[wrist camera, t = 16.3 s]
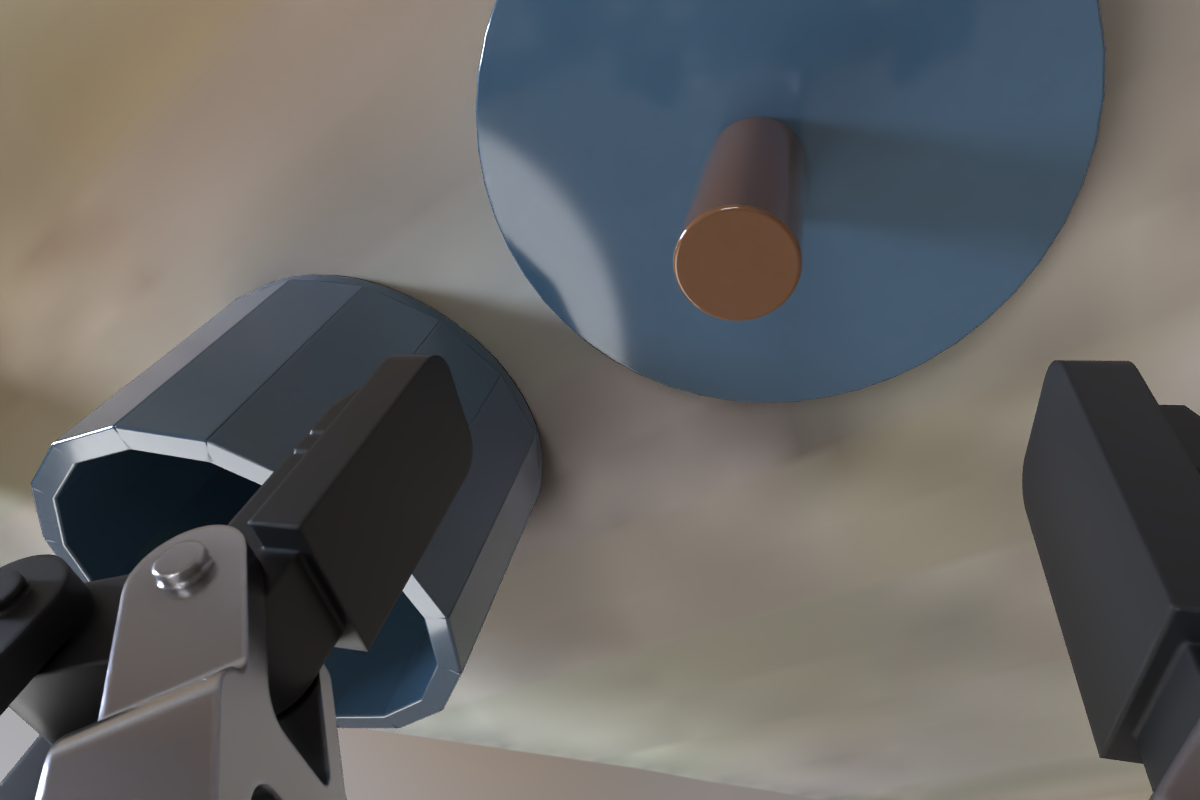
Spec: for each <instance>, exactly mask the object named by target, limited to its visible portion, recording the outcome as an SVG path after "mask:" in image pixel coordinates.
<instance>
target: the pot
mask: <svg viewBox="0 0 1200 800" xmlns="http://www.w3.org/2000/svg"><path fill="white" fill-rule="evenodd" d="M391 355H439V356H441V357H442V358H443V359H444V360H445V361H446V362H447V364H448V366H449V369H450V371H451V374H452V378H453V381H454V384H455V387H456V390H457V393H458V396H459V399H460V402H461V405H462V408H463V411H464V414H465V417H466V420H467V423H468V426H469V429H470V433H471V436H472V442H473V456H472V463H471V467H470V470H469V473H468V475H467V477H466V479H465V481H464V482H463V484H462V486H461V488H460V490H459V491H458V493H457V495H456V497H455V498H454V500H453V502H452V504H451V506H450V507H449V509H448V511H447V513H446V514H445V516H444V518H443V520H442V522H441V523H440V525H439V527H438V529H437V530H436V532H435V534H434V536H433V538H432V539H431V541H430V543H429V545H428V546H427V548H426V550H425V552H424V554H423V555H422V557H421V559H420V561H419V562H418V564H417V566H416V568H415V570H414V571H413V573H412V575H411V577H410V578H409V580H408V582H407V584H406V586H405V587H404V589H403V591H402V593H401V594H400V596H399V598H398V600H397V602H396V603H395V605H394V607H393V609H392V610H391V612H390V614H389V616H388V618H387V619H386V621H385V623H384V625H383V626H382V628H381V630H380V632H379V634H378V635H377V637H376V639H375V641H374V642H373V644H372V646H371V648H370V650H369V651H368V652H366V651H358V650H351V649H344V648H337V647H334V648H333V650H332V651H331V653H330V655H329V656H328V658H327V660H326V661H325V663H324V664H325V666H326V668H327V669H328V671H329V673H330V677H331V682H332V690H333V698H334V706H335V714H336V722H337V728H340V727H341V728H402V727H404V726H406V725H409V724H411V723H414V722H416V721H418V720H421V719H423V718H426V717H428V716H430V715H433V714H435V713H438V712H440V711H441V710H443V709H444V707H445V705H446V703H447V702H448V700H449V698H450V696H451V694H452V692H453V690H454V688H455V686H456V684H457V682H458V680H459V678H460V676H461V674H462V672H463V670H464V668H465V665H466V663H467V661H468V658H469V656H470V654H471V651H472V649H473V647H474V644H475V642H476V640H477V637H478V635H479V633H480V630H481V628H482V626H483V623H484V621H485V619H486V616H487V614H488V612H489V609H490V607H491V605H492V602H493V600H494V598H495V595H496V593H497V591H498V588H499V586H500V584H501V581H502V579H503V577H504V574H505V572H506V570H507V567H508V565H509V563H510V560H511V558H512V556H513V554H514V551H515V549H516V547H517V544H518V542H519V540H520V537H521V535H522V533H523V530H524V528H525V526H526V523H527V521H528V519H529V516H530V514H531V512H532V509H533V507H534V505H535V502H536V500H537V498H538V495H539V493H540V489H541V487H540V484H541V478H542V472H543V465H542V449H541V444H540V438H539V434H538V431H537V428H536V425H535V422H534V419H533V416H532V414H531V412H530V410H529V408H528V406H527V404H526V402H525V400H524V398H523V396H522V394H521V393H520V391H519V390H518V388H517V387H516V385H515V384H514V382H513V381H512V379H511V377H510V376H509V375H508V374H507V373H506V371H505V370H504V369H503V368H502V367H501V365H500V364H499V363H498V362H497V360H496V359H495V358H494V357H493V356H492V355H491V354H490V353H489V352H488V351H487V350H486V349H485V348H484V347H483V346H482V345H481V344H480V343H479V342H478V341H477V340H476V339H474V338H473V337H472V336H471V335H469V334H468V333H467V332H466V331H464V330H463V329H462V328H461V327H459V326H458V325H457V324H456V323H454V322H453V321H451V320H450V319H448V318H447V317H445V316H444V315H442V314H441V313H439V312H438V311H436V310H435V309H433V308H431V307H429V306H427V305H425V304H423V303H422V302H420V301H418V300H416V299H414V298H412V297H410V296H408V295H405V294H403V293H400V292H398V291H395V290H393V289H390V288H388V287H385V286H382V285H379V284H375V283H372V282H368V281H365V280H361V279H356V278H350V277H344V276H337V275H315V274H312V275H303V276H293V277H288V278H284V279H281V280H277V281H273V282H270V283H268V284H266V285H264V286H262V287H260V288H258V289H256V290H254V291H253V292H251V293H250V294H248V295H245V296H242V297H240V298H237V299H236V300H235V301H233V302H232V303H231V304H229V305H228V306H227V307H226V308H224V309H223V310H222V311H221V312H219V313H218V314H217V315H215V316H214V317H213V318H212V319H210V320H209V321H208V322H207V323H205V324H204V325H203V326H201V327H200V328H199V329H198V330H196V331H195V332H194V333H192V334H191V335H190V336H189V337H187V338H186V339H185V340H184V341H182V342H181V343H180V344H178V345H177V346H176V347H175V348H173V349H172V350H171V351H169V352H168V353H167V354H166V355H164V356H163V357H162V358H161V359H159V360H158V361H157V362H155V363H154V364H153V365H152V366H150V367H149V368H148V369H147V370H145V371H144V372H143V373H141V374H140V375H139V376H138V377H136V378H135V379H134V380H132V381H131V382H130V383H129V384H127V385H126V386H125V387H124V388H122V389H121V390H120V391H118V392H117V393H116V394H115V395H113V396H112V397H111V398H110V399H108V400H107V401H106V402H104V403H103V404H102V405H101V406H99V407H98V408H97V409H95V410H94V411H93V412H92V413H90V414H89V415H88V416H87V417H85V418H84V419H83V420H81V421H80V422H79V423H78V424H76V425H75V426H74V427H72V428H71V429H70V430H69V431H67V432H66V433H65V434H64V435H62V436H61V437H60V438H58V439H57V440H56V441H55V442H53V443H52V445H51V447H50V449H49V451H48V453H47V454H46V456H45V458H44V460H43V462H42V464H41V465H40V467H39V469H38V471H37V473H36V475H35V477H34V478H33V480H32V482H31V490H32V494H33V498H34V502H35V506H36V510H37V514H38V518H39V522H40V526H41V530H42V534H43V537H44V538H45V540H46V542H47V543H48V544H49V546H50V547H51V549H52V550H53V551H54V553H55V554H56V555H57V556H58V557H61V558H62V559H63V560H64V561H65V562H66V563H67V564H68V565H69V566H70V567H71V569H72V570H73V571H74V572H75V573H76V574H77V575H78V577H79V578H80V579H81V580H82V581H83V582H90V581H95V580H100V579H106V578H111V577H117V576H122V575H127V574H130V573H131V572H132V570H133V569H134V568H135V567H136V566H137V564H138V563H139V562H140V561H141V560H142V559H143V558H144V557H146V556H147V555H148V554H149V553H150V552H152V551H153V550H154V549H155V548H157V547H158V546H160V545H161V544H163V543H164V542H166V541H168V540H169V539H171V538H173V537H175V536H177V535H179V534H182V533H184V532H186V531H189V530H192V529H195V528H198V527H203V526H208V525H228V524H229V522H230V521H231V520H232V519H233V518H234V517H235V516H236V514H237V513H238V512H239V511H240V510H241V509H242V508H243V506H244V505H245V504H246V503H247V502H248V501H249V500H250V498H251V497H252V496H253V495H254V494H255V493H256V492H257V490H258V489H259V488H260V487H261V486H262V485H263V483H264V482H265V481H266V480H267V479H268V478H269V477H270V475H271V474H272V473H273V472H274V471H275V470H276V469H277V467H278V466H279V465H280V464H281V463H282V462H283V461H284V459H285V458H286V457H287V456H288V455H289V454H290V455H293V453H294V451H293V449H294V448H295V447H296V446H297V444H298V443H299V442H300V441H301V440H302V439H303V438H304V436H305V435H310V430H311V428H312V427H313V426H314V425H315V424H316V423H317V422H318V420H319V419H320V418H321V417H322V416H323V415H324V414H325V412H326V411H327V410H328V409H329V408H330V407H331V406H332V405H334V404H335V403H337V402H338V401H340V400H341V399H343V398H344V397H345V396H347V395H348V394H350V393H351V392H353V391H354V390H356V389H357V388H359V387H362V386H363V385H364V383H365V382H366V381H367V380H368V379H369V378H370V376H371V375H372V374H373V373H374V372H375V370H376V369H377V368H378V367H379V366H380V365H381V363H382V362H383V361H384V360H385V359H386V358H387V357H389V356H391Z"/></svg>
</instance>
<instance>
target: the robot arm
mask: <svg viewBox="0 0 1200 800" xmlns="http://www.w3.org/2000/svg"><path fill="white" fill-rule="evenodd" d="M293 451H294V453H293V455H290V454H289V455H288V456H287V457H286V458H285V459H284V461H283V462H282V463H281V464H280V465H279V466H278V467H277V469H276V470H275V471H274V472H273V473H272V474H271V475H270V477H269V478H268V479H267V480H266V481H265V482H264V483H263V485H262V486H261V487H260V488H259V489H258V490H257V492H256V493H255V494H254V495H253V496H252V497H251V498H250V500H249V501H248V502H247V503H246V504H245V505H244V506H243V508H242V509H241V510H240V511H239V512H238V513H237V514H236V516H235V517H234V518H233V519H232V520H231V521H230V522H229V524H228V525H208V526H203V527H198V528H195V529H192V530H189V531H186V532H184V533H182V534H179V535H177V536H175V537H173V538H171V539H169V540H168V541H166V542H164V543H163V544H161V545H160V546H158V547H157V548H155V549H154V550H153V551H152V552H150V553H149V554H148V555H147V556H146V557H144V558H143V559H142V560H141V561H140V562H139V563H138V564H137V566H136V567H135V568H134V569H133V570H132V572H131V573H130V574H127V575H122V576H117V577H111V578H106V579H100V580H95V581H90V582H83V581H82V580H81V579H80V578H79V577H78V575H77V574H76V573H75V572H74V571H73V570H72V569H71V567H70V566H69V565H68V564H67V563H66V562H65V561H64V560H63V559H62V558H61V557H58V556H56V555H49V554H48V555H36V556H31V557H27V558H23V559H20V560H17V561H15V562H12V563H9V564H7V565H5V566H3V567H1V568H0V715H1V714H2V713H3V712H4V711H5V710H6V709H7V707H10V708H11V709H12V710H13V711H14V712H15V713H16V714H17V715H19V716H20V717H21V718H22V719H23V720H24V721H26V723H28V724H29V725H30V726H31V727H32V728H33V729H34V730H35V731H37V732H38V733H39V734H40V735H39V737H38V738H37V739H36V740H35V741H34V743H33V744H32V745H31V746H30V748H29V749H28V750H27V751H26V752H25V754H24V755H23V756H22V757H21V758H20V760H19V761H18V762H17V763H16V765H15V766H14V767H13V768H12V770H11V771H10V772H9V773H8V774H7V776H6V777H5V778H4V779H3V780H2V782H1V783H0V800H347V799H346V793H345V786H344V778H343V770H342V763H341V755H340V746H339V738H338V730H337V722H336V714H335V706H334V698H333V690H332V682H331V677H330V673H329V671H328V669H327V668H326V666H325V664H324V663H325V661H326V660H327V658H328V656H329V655H330V653H331V651H332V650H333V648H334V647H337V648H344V649H351V650H358V651H366V652H368V651H369V650H370V648H371V646H372V644H373V642H374V641H375V639H376V637H377V635H378V634H379V632H380V630H381V628H382V626H383V625H384V623H385V621H386V619H387V618H388V616H389V614H390V612H391V610H392V609H393V607H394V605H395V603H396V602H397V600H398V598H399V596H400V594H401V593H402V591H403V589H404V587H405V586H406V584H407V582H408V580H409V578H410V577H411V575H412V573H413V571H414V570H415V568H416V566H417V564H418V562H419V561H420V559H421V557H422V555H423V554H424V552H425V550H426V548H427V546H428V545H429V543H430V541H431V539H432V538H433V536H434V534H435V532H436V530H437V529H438V527H439V525H440V523H441V522H442V520H443V518H444V516H445V514H446V513H447V511H448V509H449V507H450V506H451V504H452V502H453V500H454V498H455V497H456V495H457V493H458V491H459V490H460V488H461V486H462V484H463V482H464V481H465V479H466V477H467V475H468V473H469V470H470V467H471V463H472V456H473V442H472V436H471V433H470V429H469V426H468V423H467V420H466V417H465V414H464V411H463V408H462V405H461V402H460V399H459V396H458V393H457V390H456V387H455V384H454V381H453V378H452V374H451V371H450V369H449V366H448V364H447V362H446V361H445V360H444V359H443V358H442V357H441V356H439V355H391V356H389V357H387V358H386V359H385V360H384V361H383V362H382V363H381V365H380V366H379V367H378V368H377V369H376V370H375V372H374V373H373V374H372V375H371V376H370V378H369V379H368V380H367V381H366V382H365V383H364V385H363V386H362V387H359V388H357V389H356V390H354V391H353V392H351V393H350V394H348V395H347V396H345V397H344V398H343V399H341V400H340V401H338V402H337V403H335V404H334V405H332V406H331V407H330V408H329V409H328V410H327V411H326V412H325V414H324V415H323V416H322V417H321V418H320V419H319V420H318V422H317V423H316V424H315V425H314V426H313V427H312V428H311V430H310V435H305V436H304V438H303V439H302V440H301V441H300V442H299V443H298V444H297V446H296V447H295V448H294V449H293ZM1022 487H1023V499H1024V505H1025V509H1026V513H1027V516H1028V520H1029V523H1030V526H1031V530H1032V533H1033V536H1034V540H1035V543H1036V546H1037V550H1038V553H1039V556H1040V560H1041V563H1042V566H1043V570H1044V573H1045V576H1046V580H1047V583H1048V586H1049V590H1050V593H1051V596H1052V600H1053V603H1054V606H1055V610H1056V613H1057V616H1058V620H1059V623H1060V626H1061V630H1062V633H1063V636H1064V640H1065V643H1066V646H1067V650H1068V653H1069V656H1070V660H1071V663H1072V666H1073V670H1074V673H1075V676H1076V680H1077V683H1078V686H1079V690H1080V693H1081V696H1082V700H1083V703H1084V706H1085V710H1086V713H1087V716H1088V720H1089V723H1090V726H1091V730H1092V733H1093V736H1094V740H1095V743H1096V746H1097V750H1098V753H1099V756H1100V758H1106V759H1113V760H1120V761H1128V762H1135V763H1142V764H1144V767H1145V770H1146V772H1147V775H1148V778H1149V781H1150V784H1151V787H1152V790H1153V794H1152V796H1151V797H1150V799H1149V800H1200V416H1199V415H1197V414H1196V413H1194V412H1193V411H1192V410H1190V409H1189V408H1187V407H1186V406H1185V405H1158V403H1157V401H1156V400H1155V398H1154V396H1153V395H1152V393H1151V391H1150V389H1149V388H1148V386H1147V384H1146V383H1145V381H1144V379H1143V378H1142V376H1141V374H1140V373H1139V371H1138V369H1137V368H1136V366H1135V365H1134V364H1133V363H1132V362H1129V361H1054V362H1052V363H1051V365H1050V366H1049V368H1048V370H1047V373H1046V376H1045V379H1044V383H1043V387H1042V391H1041V395H1040V399H1039V403H1038V407H1037V411H1036V415H1035V419H1034V423H1033V427H1032V431H1031V435H1030V439H1029V443H1028V447H1027V451H1026V455H1025V459H1024V465H1023V477H1022Z"/></svg>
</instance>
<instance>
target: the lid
mask: <svg viewBox="0 0 1200 800" xmlns="http://www.w3.org/2000/svg"><path fill="white" fill-rule="evenodd" d="M1105 53H1106V48H1105V41H1104V33H1103V25H1102V18H1101V10H1100V3H1099V0H496V1H495V4H494V8H493V11H492V14H491V17H490V20H489V23H488V27H487V30H486V33H485V38H484V43H483V49H482V54H481V60H480V65H479V71H478V83H477V100H476V122H477V138H478V151H479V156H480V162H481V167H482V172H483V178H484V183H485V187H486V190H487V193H488V197H489V200H490V203H491V206H492V209H493V213H494V216H495V219H496V221H497V223H498V225H499V228H500V230H501V232H502V234H503V237H504V239H505V241H506V243H507V246H508V248H509V250H510V251H511V253H512V255H513V256H514V258H515V260H516V261H517V263H518V265H519V266H520V268H521V270H522V272H523V273H524V275H525V276H526V278H527V279H528V280H529V282H530V283H531V284H532V286H533V287H534V288H535V290H536V291H537V292H538V294H539V295H540V296H541V298H542V299H543V300H544V302H545V303H546V304H547V305H548V306H549V307H550V308H551V309H552V310H553V311H554V312H555V313H556V314H557V315H558V316H559V317H560V318H561V320H562V321H563V322H564V323H565V324H566V325H568V326H569V327H570V328H571V329H572V330H573V331H575V332H576V333H577V334H578V335H579V336H581V337H582V338H583V339H584V340H585V341H586V342H588V343H589V344H590V345H592V346H593V347H595V348H596V349H598V350H599V351H601V352H602V353H603V354H605V355H606V356H608V357H609V358H611V359H612V360H614V361H616V362H617V363H619V364H621V365H623V366H625V367H627V368H629V369H631V370H633V371H634V372H636V373H638V374H640V375H642V376H645V377H647V378H650V379H652V380H655V381H657V382H660V383H662V384H665V385H667V386H669V387H673V388H676V389H680V390H683V391H687V392H690V393H694V394H697V395H702V396H708V397H713V398H719V399H725V400H731V401H745V402H759V403H768V402H795V401H803V400H810V399H818V398H825V397H830V396H834V395H838V394H843V393H847V392H851V391H855V390H859V389H862V388H865V387H868V386H871V385H874V384H876V383H879V382H882V381H885V380H888V379H891V378H893V377H895V376H897V375H899V374H902V373H904V372H906V371H908V370H910V369H912V368H914V367H916V366H918V365H920V364H923V363H925V362H926V361H928V360H930V359H931V358H933V357H935V356H936V355H938V354H939V353H941V352H943V351H944V350H946V349H948V348H949V347H951V346H953V345H954V344H956V343H957V342H959V341H960V340H961V339H962V338H964V337H965V336H966V335H968V334H969V333H970V332H971V331H973V330H974V329H975V328H977V327H978V326H979V325H981V324H982V323H983V322H984V321H986V320H987V319H988V318H989V317H990V316H991V315H992V314H993V313H994V312H995V311H996V310H997V309H998V308H999V307H1000V306H1001V305H1002V304H1004V303H1005V302H1006V301H1007V300H1008V299H1009V298H1010V297H1011V296H1012V295H1013V294H1014V293H1015V292H1016V291H1017V289H1018V288H1019V287H1020V286H1021V285H1022V283H1023V282H1024V281H1025V280H1026V278H1027V277H1028V276H1029V275H1030V274H1031V272H1032V271H1033V270H1034V269H1035V267H1036V266H1037V265H1038V264H1039V262H1040V261H1041V260H1042V258H1043V257H1044V255H1045V254H1046V252H1047V251H1048V249H1049V247H1050V246H1051V244H1052V243H1053V241H1054V240H1055V238H1056V236H1057V235H1058V233H1059V232H1060V230H1061V228H1062V227H1063V225H1064V224H1065V222H1066V219H1067V217H1068V215H1069V213H1070V211H1071V209H1072V207H1073V205H1074V202H1075V200H1076V198H1077V196H1078V194H1079V192H1080V190H1081V187H1082V185H1083V183H1084V180H1085V177H1086V173H1087V170H1088V167H1089V164H1090V161H1091V158H1092V155H1093V151H1094V148H1095V145H1096V142H1097V137H1098V131H1099V125H1100V119H1101V113H1102V108H1103V102H1104V95H1105Z"/></svg>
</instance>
